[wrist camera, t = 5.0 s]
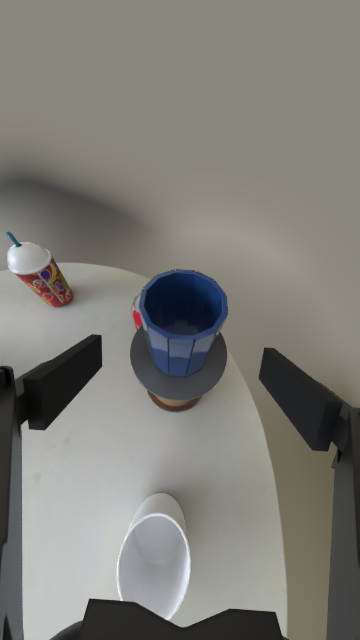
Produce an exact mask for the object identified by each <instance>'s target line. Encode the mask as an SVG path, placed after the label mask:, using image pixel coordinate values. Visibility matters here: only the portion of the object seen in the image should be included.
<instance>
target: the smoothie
mask: <svg viewBox="0 0 360 640" xmlns="http://www.w3.org/2000/svg"><path fill="white" fill-rule="evenodd" d="M7 235H8V236H9V237H10V238H11V240H12V241H13V242H14V243H15V244H14V245H13V246H11V247H10V249H9V250H8V253H7V261H8V268H9V269H10V270H11V271H12V272H14V273H15V274H16V275H17V276H18V277H19V278H20V279H21V280H22V281H23V282H24V283H25V284H27V285H28V286H29V287H30V288H31V289H32V290H33V291H34V292H35V293H36V294H38V295H39V296H40V297H41V298H42V299H43V300H44V301H45V302H46V303H47V304H49V305H51V306H55V307H61V306H64V305H66V304H68V303H69V302H70V301H71V299H72V291H71V289H70V287H69V285H68V284H67V282H66V280H65V278H64V277H63V275H62V273H61V271H60V270H59V268H58V266H57V264H56V263H55V261H54V259H53V257H52V256H51V253H50V252H49V251H48V250H46V249H44V248H42V247H41V246H39V245H37V244H35V243H31V242H19V243H18V241H17V240H16V239H15V238H14V236H13V235H12V234H11V233H10V232H7Z"/></svg>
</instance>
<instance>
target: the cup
mask: <svg viewBox="0 0 360 640" xmlns="http://www.w3.org/2000/svg"><path fill="white" fill-rule="evenodd" d="M190 574H191V555H190V548H189V542H188V537H187V531H186V525H185V519H184V515H183V512H182V510H181V507H180V506H179V504H178V503H177V501H176V500H175V499H174V498H173V497H171V496H170V495H168V494H165V493H156V494H153V495H151V496H149V497H148V498H147V499H145V500H144V501H143V503H142V504H141V505H140V507H139V508H138V510H137V512H136V514H135V516H134V518H133V521H132V523H131V525H130V527H129V530H128V532H127V534H126V536H125V539H124V541H123V543H122V546H121V549H120V553H119V557H118V563H117V586H118V592H119V596H120V599H121V601H130V602H136V603H138V604H140V605H141V606H143V607H145V608H147V609H148V610H150V611H152V612H154V613H155V614H157V615H159V616H161V617H163V618H164V619H166V620H169V619H170V618H171V617H172V616H173V615H174V614H175V613H176V611H177V610H178V609H179V607H180V605H181V604H182V602H183V600H184V597H185V595H186V592H187V589H188V585H189V580H190Z"/></svg>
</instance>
